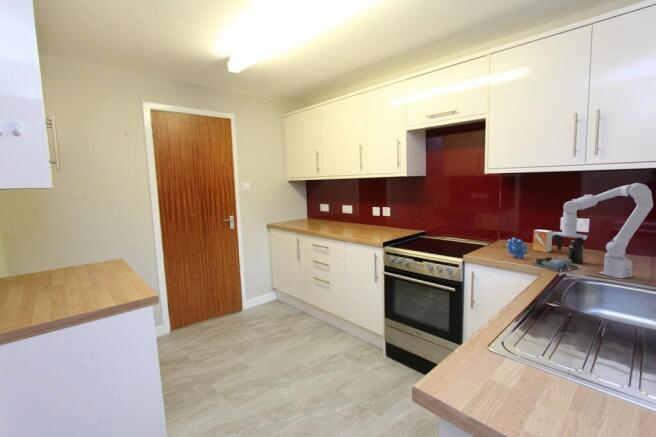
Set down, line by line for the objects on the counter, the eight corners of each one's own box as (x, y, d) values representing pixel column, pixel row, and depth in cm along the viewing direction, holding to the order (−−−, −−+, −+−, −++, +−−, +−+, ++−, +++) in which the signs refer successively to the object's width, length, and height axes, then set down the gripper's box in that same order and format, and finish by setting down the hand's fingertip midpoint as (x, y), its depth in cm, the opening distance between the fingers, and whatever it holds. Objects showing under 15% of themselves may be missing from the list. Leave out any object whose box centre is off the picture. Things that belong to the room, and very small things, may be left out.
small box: (532, 250, 204) (533, 230, 202) (538, 248, 207) (538, 229, 205) (546, 252, 197) (546, 231, 195) (551, 251, 200) (552, 230, 198)
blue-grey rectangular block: (564, 266, 163) (564, 261, 162) (557, 267, 162) (557, 262, 161) (551, 263, 170) (551, 257, 169) (544, 264, 168) (544, 258, 168)
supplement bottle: (579, 260, 176) (580, 239, 175) (585, 264, 170) (586, 242, 168) (565, 260, 178) (566, 239, 177) (570, 263, 172) (571, 242, 170)
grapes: (502, 257, 190) (503, 237, 189) (507, 255, 195) (507, 236, 193) (524, 260, 181) (525, 240, 180) (528, 258, 186) (529, 238, 184)
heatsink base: (577, 268, 163) (578, 260, 162) (556, 271, 159) (557, 263, 159) (552, 262, 176) (552, 254, 176) (532, 264, 173) (532, 257, 172)
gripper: (590, 225, 155) (588, 252, 157) (557, 222, 168) (556, 247, 169) (583, 227, 152) (582, 254, 154) (550, 224, 164) (549, 249, 166)
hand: (568, 251), depth 161 cm, fingers open, 7 cm apart
